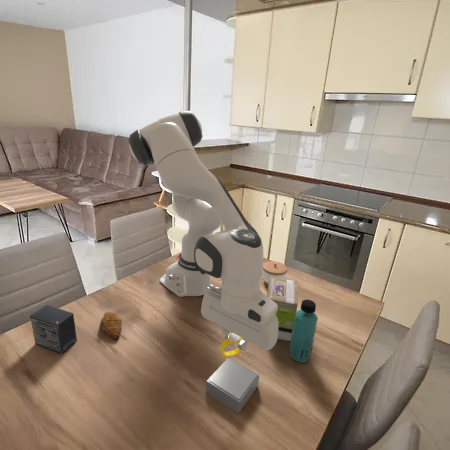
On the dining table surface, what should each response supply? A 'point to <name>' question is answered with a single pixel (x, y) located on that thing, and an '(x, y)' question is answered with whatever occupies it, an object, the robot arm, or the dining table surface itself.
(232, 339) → the yellow ring-shaped piece
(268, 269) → the lidded jar
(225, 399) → the base
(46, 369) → the dining table surface
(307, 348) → the beverage bottle
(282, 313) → the tea box
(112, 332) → the croissant
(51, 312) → the small box
